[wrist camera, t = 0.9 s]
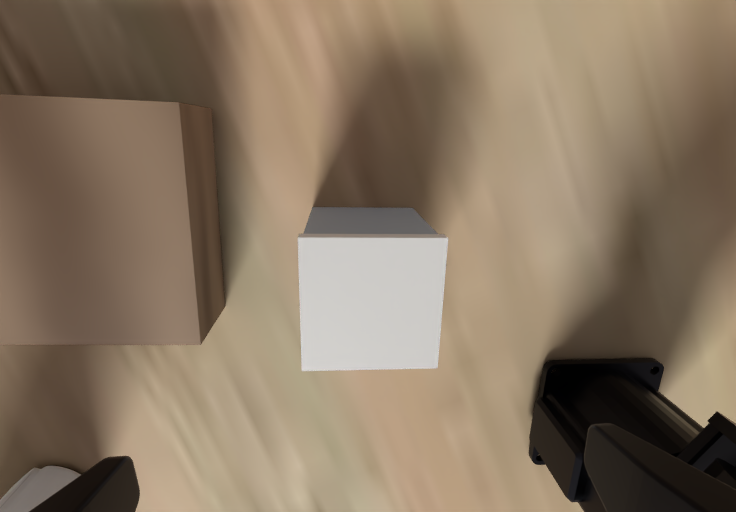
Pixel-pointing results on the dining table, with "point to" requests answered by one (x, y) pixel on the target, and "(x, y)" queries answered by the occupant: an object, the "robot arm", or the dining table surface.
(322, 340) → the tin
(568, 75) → the dining table surface
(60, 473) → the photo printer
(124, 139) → the walnut block
